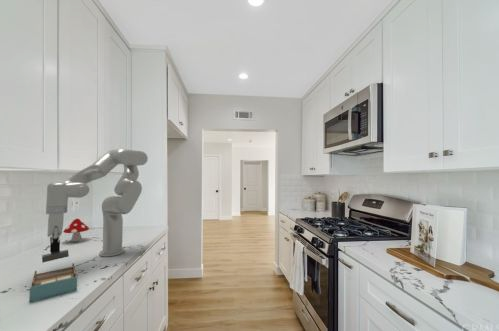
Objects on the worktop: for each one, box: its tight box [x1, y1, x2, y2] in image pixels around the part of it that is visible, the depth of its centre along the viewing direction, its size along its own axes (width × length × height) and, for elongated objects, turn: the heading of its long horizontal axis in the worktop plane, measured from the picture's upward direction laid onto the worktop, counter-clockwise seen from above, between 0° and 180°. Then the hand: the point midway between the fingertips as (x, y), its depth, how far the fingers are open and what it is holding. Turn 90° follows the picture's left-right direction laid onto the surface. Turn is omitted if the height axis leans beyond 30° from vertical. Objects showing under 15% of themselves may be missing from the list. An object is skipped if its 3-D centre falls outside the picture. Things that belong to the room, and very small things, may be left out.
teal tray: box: [29, 276, 78, 303], centre depth 86 cm, size 8×13×5 cm, turn 130°
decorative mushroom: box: [62, 218, 90, 243], centre depth 153 cm, size 14×14×15 cm
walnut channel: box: [31, 263, 77, 287], centre depth 95 cm, size 14×13×4 cm
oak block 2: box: [57, 274, 71, 281], centre depth 88 cm, size 4×4×4 cm
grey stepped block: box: [41, 236, 70, 264], centre depth 104 cm, size 3×9×10 cm, turn 130°
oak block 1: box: [41, 278, 55, 285], centre depth 85 cm, size 4×4×4 cm
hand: (54, 250), depth 104 cm, fingers closed on grey stepped block, 3 cm apart
